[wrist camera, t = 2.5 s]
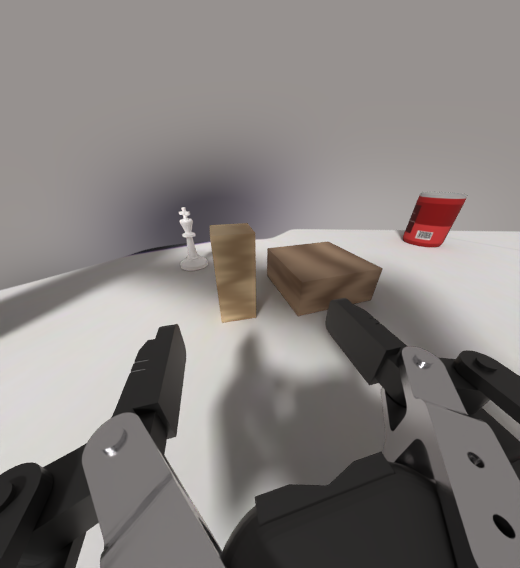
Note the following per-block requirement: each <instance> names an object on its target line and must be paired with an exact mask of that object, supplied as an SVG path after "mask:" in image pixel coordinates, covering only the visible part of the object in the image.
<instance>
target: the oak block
mask: <svg viewBox="0 0 520 568" xmlns="http://www.w3.org/2000/svg"><path fill="white" fill-rule="evenodd" d="M210 239H211V247H212V254H213V261H214V268H215V276H216V283H217V290H218V298H219V305H220V312H221V320H222V323H224V322H231V321H237V320H243V319H250V318H256V260H255V232H254V231H253V230H252V228H251V227H250V226H249V225H248V223H244V224H225V225H210Z"/></svg>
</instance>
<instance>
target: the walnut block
mask: <svg viewBox="0 0 520 568" xmlns="http://www.w3.org/2000/svg"><path fill="white" fill-rule="evenodd" d="M381 272H382V268H380V267H378V266H376V265H374V264H372V263H370V262H368V261H366V260H364V259H362V258H360V257H358V256H356V255H354V254H352V253H350V252H348V251H346V250H344V249H342V248H340V247H338V246H336V245H334V244H332V243H330V242H321V243H312V244H303V245H294V246H285V247H276V248H268V255H267V276H268V277H269V278H270V280H271V281H272V282H273V284H274V285H275V286H276V288H277V289H278V290H279V292H280V293H281V294H282V296H283V297H284V298H285V300H286V301H287V302H288V304H289V305H290V306H291V308H292V309H293V310H294V312H295V313H296V314H297V316H301V315H306V314H310V313H315V312H319V311H324V310H328V308H329V303H330V301H331V300H335V299H341V298H346V299H348V300H349V301H350V302H351V303H352V304H355V303H360V302H364V301H369V300H371V298H372V296H373V293H374V290H375V288H376V285H377V282H378V280H379V277H380V274H381Z"/></svg>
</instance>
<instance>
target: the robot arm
mask: <svg viewBox="0 0 520 568" xmlns="http://www.w3.org/2000/svg"><path fill="white" fill-rule="evenodd" d="M326 328H327V330H328V332H329V333H330V335H331V336H332V337H333V339H334V340H335V341H336V343H337V344H338V345H339V346H340V348H341V349H342V350H343V352H344V353H345V354H346V356H347V357H348V358H349V359H350V361H351V362H352V363H353V365H354V366H355V367H356V369H357V370H358V371H359V372H360V374H361V375H362V376H363V378H364V379H365V380H366V382H367V383H368V384H369V385H373V384H376V383H380V384H381V386H382V388H381V399H382V408H383V416H384V425H385V443H384V447H383V453H382V452H379V453H376V454H373V455H370V456H368V457H365V458H362V459H359V460H356V461H354V462H353V463H351V464H350V465H349V466H348V467H347V468H346V469H345V470H344V471H343V472H342V473H341V474H340V475H339V476H338V477H337V478H336V479H335V480H333V481H332V482H331V483H330V484H329V485H326V486H320V485H292V484H289V485H287V486H284V487H281V488H278V489H275V490H273V491H270V492H267V493H264V494H261V495H259V496H256V497H255V503H256V506H255V507H253V508H252V509H251V510H250V511H249V512H248V513H247V514H246V515H245V516H244V517H243V518H242V519H241V521H240V522H239V523H238V525H237V526H236V528H235V529H234V530H233V532H232V534H231V536H230V537H229V539H228V541H227V543H226V545H225V547H224V549H223V551H222V550H221V548H220V546H219V545H218V543H217V541H216V540H215V538H214V536H213V535H212V533H211V531H210V530H209V528H208V526H207V525H206V523H205V521H204V520H203V518H202V516H201V515H200V513H199V511H198V510H197V508H196V507H195V505H194V504H193V502H192V500H191V499H190V497H189V495H188V494H187V492H186V490H185V489H184V487H183V485H182V483H181V482H180V480H179V478H178V477H177V475H176V473H175V472H174V470H173V468H172V467H171V465H170V463H169V462H168V460H167V458H166V457H165V455H164V453H165V447H166V440H167V439H169V438H173V437H176V435H177V427H178V419H179V411H180V403H181V395H182V387H183V379H184V371H185V363H186V349H185V345H184V341H183V338H182V335H181V332H180V328H179V326H178V324H175V325H169V326H162V327H159V329H158V332H157V335H156V338H155V339H153V340H148V341H147V342H146V343H145V344H144V345H143V346H142V348H141V349H140V350H139V352H138V354H137V357H136V359H135V364H133V367H132V369H131V373H130V374H129V377H128V379H127V381H126V384H125V386H124V389H123V391H122V394H121V396H120V399H119V401H118V404H117V406H116V409H115V411H114V413H113V416H112V417H111V419H109V420H108V421H106V422H105V423H104V424H103V425H101V426H100V427H99V428H98V429H97V430H96V431H95V433H94V434H93V435H92V436H91V438H90V439H89V441H88V443H86V444H85V445H83V446H81V447H80V448H78V449H76V450H74V451H72V452H70V453H69V454H67V455H65V456H63V457H61V458H59V459H58V460H56V461H54V462H52V463H50V464H48V465H47V466H45V467H41V466H39V465H38V464H36V463H24V464H20V465H18V466H15V467H13V468H11V469H9V470H7V471H6V472H4V473H2V474H1V475H0V568H75V567H76V564H77V561H78V557H79V554H80V551H81V548H82V544H83V541H84V538H85V535H86V531H88V530H89V529H90V528H92V527H93V526H94V525H96V524H97V523H99V524H100V528H101V531H102V535H103V539H104V551H103V552H102V554H101V558H100V568H520V441H518V440H517V439H516V438H515V437H514V436H513V435H512V434H511V433H510V432H508V431H507V430H506V429H505V428H504V427H503V426H502V425H501V424H499V423H498V422H497V421H496V420H495V419H494V418H493V417H492V416H490V415H489V414H488V413H487V412H486V411H485V410H484V409H483V408H481V407H483V406H484V405H485V404H486V403H487V402H488V401H489V400H491V401H493V402H494V403H495V404H496V405H497V406H499V407H500V408H501V409H502V410H503V411H505V412H506V413H507V414H508V415H509V416H511V417H512V418H513V419H514V420H515V421H517V422H518V423H519V424H520V376H519V375H517V374H516V373H514V372H513V371H511V370H510V369H508V368H507V367H505V366H504V365H502V364H501V363H499V362H498V361H496V360H494V359H493V358H491V357H489V356H486V355H484V354H481V353H478V352H475V351H462V352H461V353H460V354H459V356H458V357H457V358H456V359H446V358H438V357H436V356H435V355H434V354H432V353H430V352H429V351H427V350H425V349H422V348H419V347H414V346H406V345H405V344H404V343H403V342H402V341H401V340H399V339H398V338H397V337H396V336H395V335H394V334H392V333H391V332H390V331H389V330H388V329H387V328H385V327H384V326H383V325H382V324H380V322H378V321H377V320H376V319H374V318H373V317H372V316H371V315H370V314H369V313H368V312H367V311H365V310H363V309H362V308H360V307H358V306H355V305H354V304H352V303H351V302H350V301H349V300H348V299H346V298H341V299H335V300H331V301H330V303H329V308H328V312H327V317H326Z"/></svg>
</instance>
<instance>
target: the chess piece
mask: <svg viewBox="0 0 520 568" xmlns="http://www.w3.org/2000/svg"><path fill="white" fill-rule="evenodd" d="M179 214H180V215H183V219H182V220H180V224H181V225H182V227H183V229H184V231H185V233H184V234H183V237H186V238H187V248H188V256H187V257H186V259H184V260H182V261H181V263H180V264H181V268H182V269H183V270H187V271H195V270H200V269H203V268H205V267H206V266H207V265H208V262H207V259H206V258H204V257H201V256H199V255H198V254H197V251H196V248H195V245H194V242H193V238H192V237H194V236H195V233H192V232H191V230H192V223H193V221H192V220H191V219H188V218H187V215H190V212H186V208H185V207H183V208H182V211H181V212H179Z"/></svg>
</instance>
